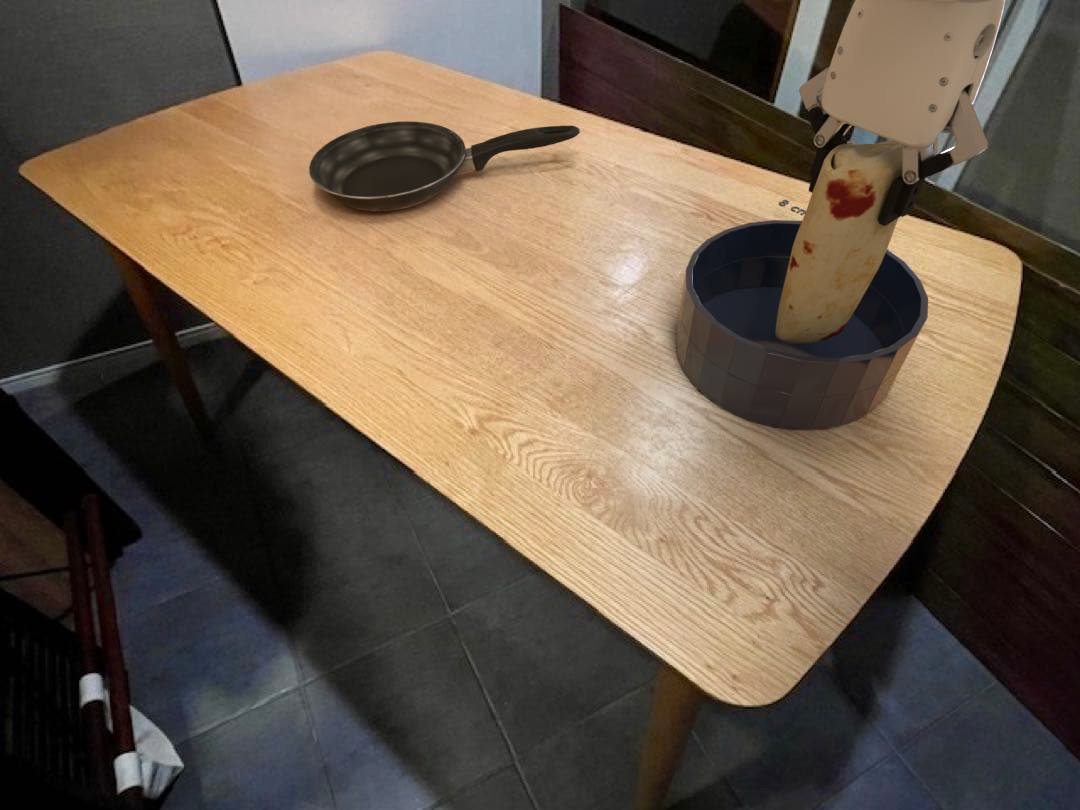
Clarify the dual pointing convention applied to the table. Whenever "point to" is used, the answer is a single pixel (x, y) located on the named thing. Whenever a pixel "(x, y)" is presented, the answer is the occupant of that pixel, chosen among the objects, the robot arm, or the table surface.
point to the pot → (785, 368)
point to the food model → (838, 242)
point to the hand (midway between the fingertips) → (855, 201)
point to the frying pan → (410, 161)
